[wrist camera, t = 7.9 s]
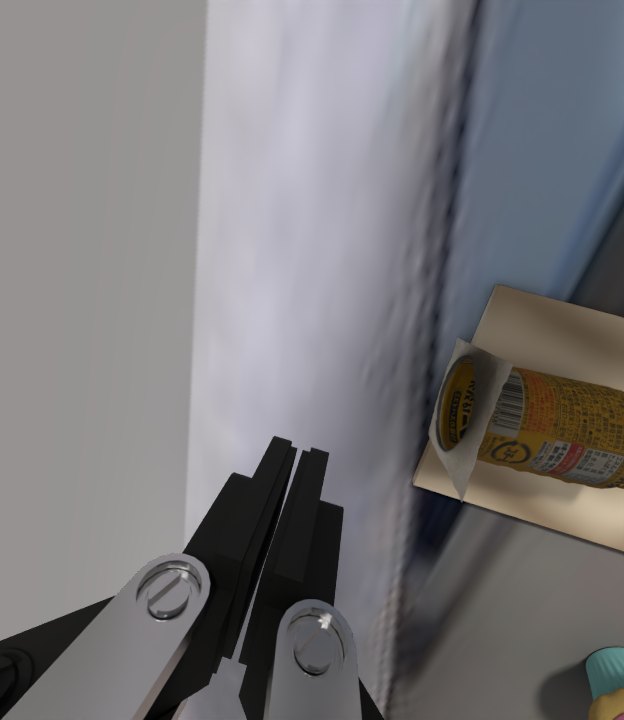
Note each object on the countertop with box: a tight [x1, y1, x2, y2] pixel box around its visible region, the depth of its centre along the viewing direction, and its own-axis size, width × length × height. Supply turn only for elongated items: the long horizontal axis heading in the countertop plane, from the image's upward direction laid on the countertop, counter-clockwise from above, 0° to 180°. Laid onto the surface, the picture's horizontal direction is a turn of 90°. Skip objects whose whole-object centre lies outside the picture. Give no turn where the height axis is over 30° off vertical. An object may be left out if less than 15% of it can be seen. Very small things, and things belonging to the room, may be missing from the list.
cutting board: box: [412, 284, 624, 551], centre depth 23 cm, size 16×21×1 cm
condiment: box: [428, 337, 624, 502], centre depth 19 cm, size 7×8×12 cm
